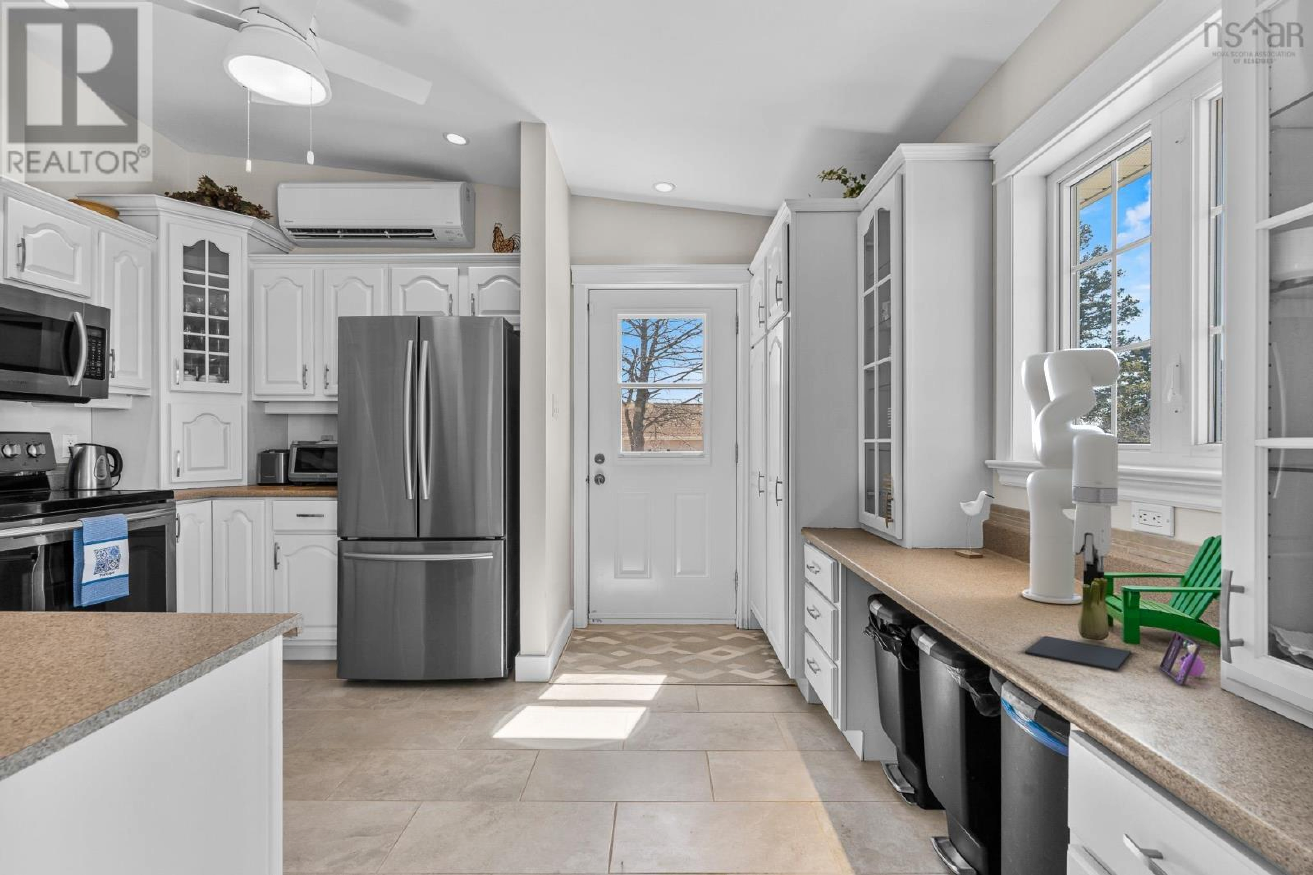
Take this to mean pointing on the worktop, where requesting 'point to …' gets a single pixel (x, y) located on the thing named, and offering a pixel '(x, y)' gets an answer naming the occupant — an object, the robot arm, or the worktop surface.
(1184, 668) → the purple toy package
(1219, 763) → the worktop surface
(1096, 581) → the fennel bulb
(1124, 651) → the mat
